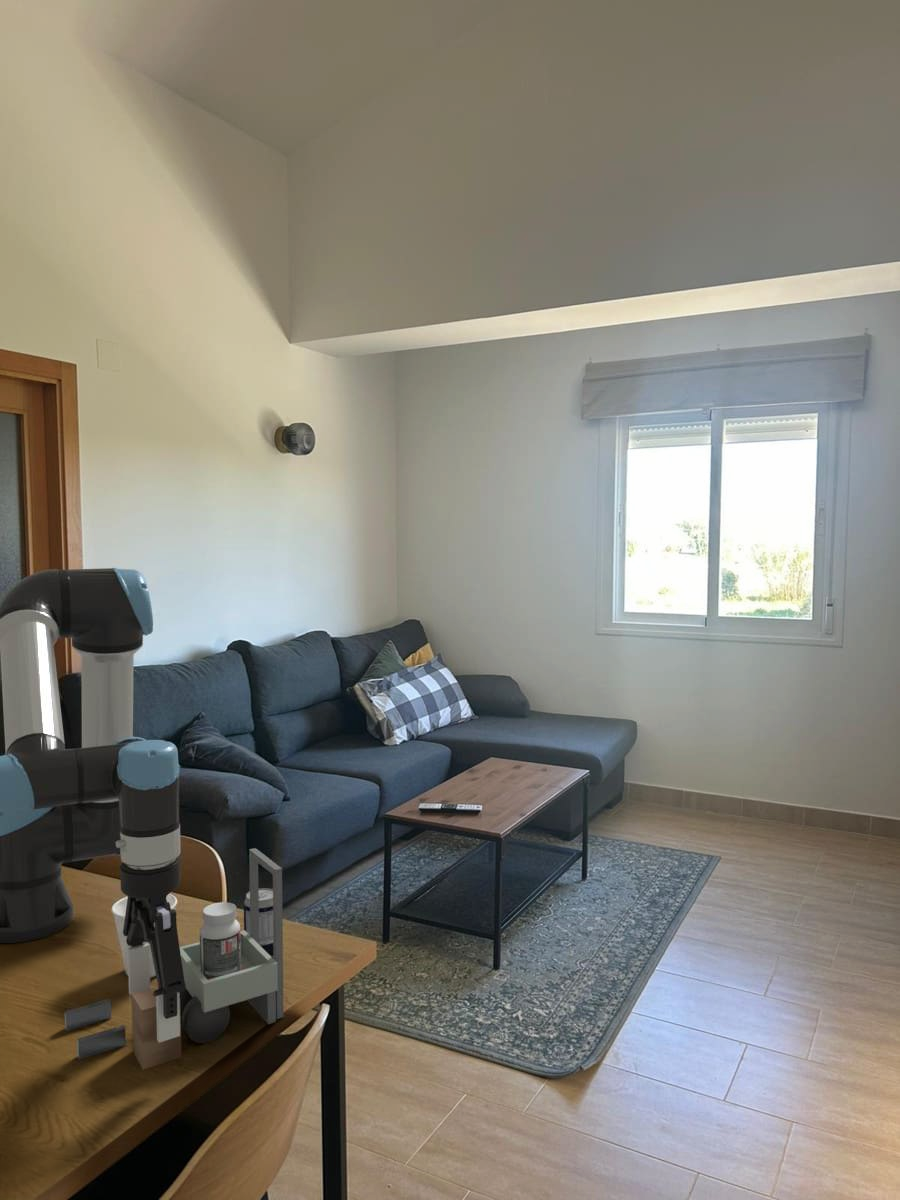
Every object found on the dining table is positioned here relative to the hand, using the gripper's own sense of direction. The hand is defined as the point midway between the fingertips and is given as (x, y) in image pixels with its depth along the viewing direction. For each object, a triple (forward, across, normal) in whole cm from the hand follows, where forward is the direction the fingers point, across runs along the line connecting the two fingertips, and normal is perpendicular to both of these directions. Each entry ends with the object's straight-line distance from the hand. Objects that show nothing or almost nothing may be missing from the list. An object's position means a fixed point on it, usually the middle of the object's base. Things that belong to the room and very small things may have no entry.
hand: (153, 1013), depth 117 cm
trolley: (+5, -3, +11) cm, 13 cm away
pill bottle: (0, -4, +11) cm, 11 cm away
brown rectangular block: (+5, +1, 0) cm, 5 cm away
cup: (+6, -23, +5) cm, 25 cm away
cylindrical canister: (+6, -14, +21) cm, 26 cm away
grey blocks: (+5, -8, -6) cm, 11 cm away
